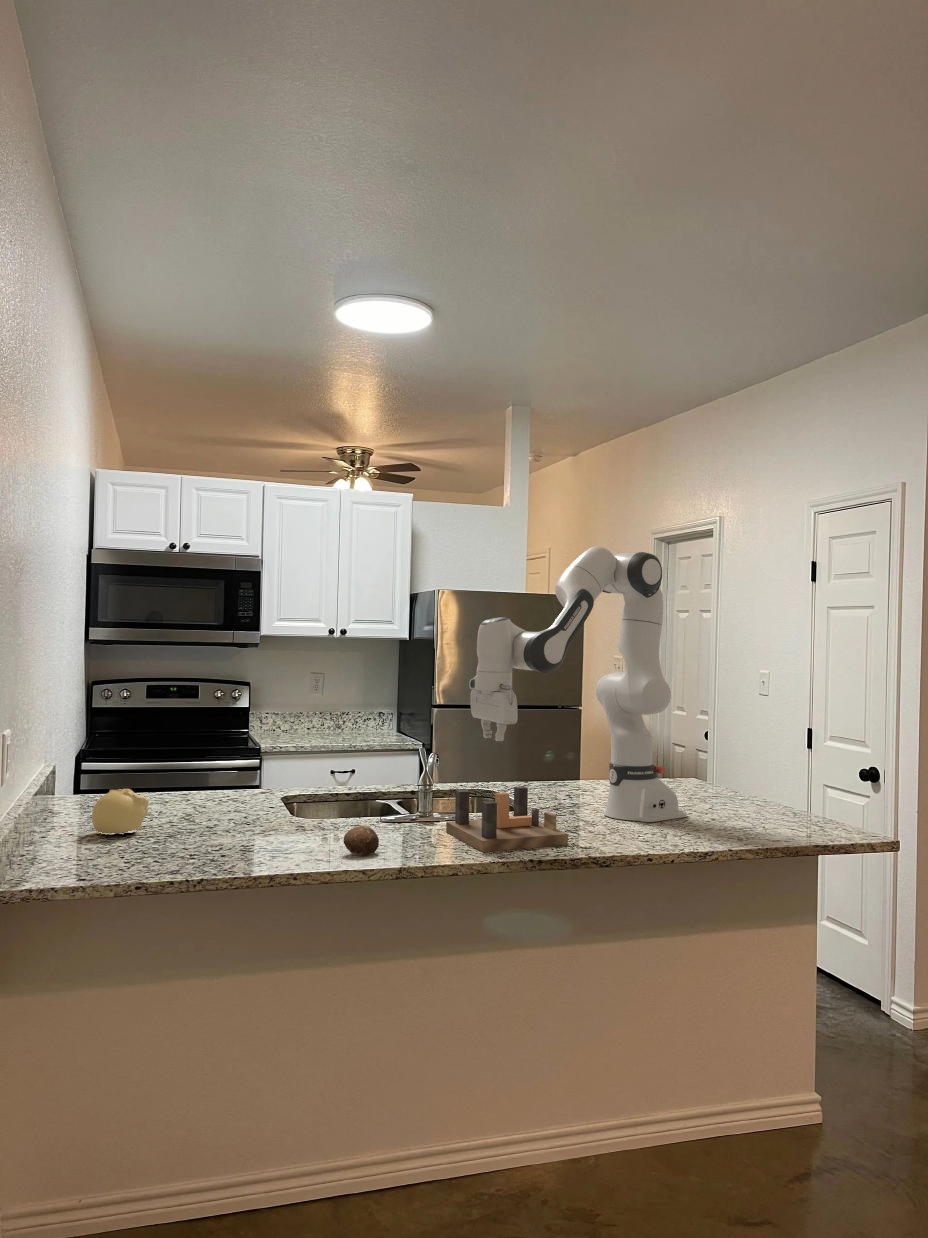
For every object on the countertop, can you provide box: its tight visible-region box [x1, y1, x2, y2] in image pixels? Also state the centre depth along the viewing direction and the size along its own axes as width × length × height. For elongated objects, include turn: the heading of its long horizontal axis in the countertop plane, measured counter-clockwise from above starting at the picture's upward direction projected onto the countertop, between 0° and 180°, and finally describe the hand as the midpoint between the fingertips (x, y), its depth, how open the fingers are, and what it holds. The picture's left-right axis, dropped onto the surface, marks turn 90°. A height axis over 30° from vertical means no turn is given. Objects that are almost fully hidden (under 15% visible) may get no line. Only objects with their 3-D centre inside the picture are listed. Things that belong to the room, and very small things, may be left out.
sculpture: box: [91, 788, 149, 833], centre depth 223 cm, size 11×12×11 cm
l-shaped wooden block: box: [494, 791, 532, 828], centre depth 225 cm, size 9×3×8 cm, turn 113°
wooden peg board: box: [445, 785, 569, 853], centre depth 225 cm, size 22×22×10 cm
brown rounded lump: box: [342, 825, 380, 857], centre depth 208 cm, size 8×8×6 cm
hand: (493, 739), depth 229 cm, fingers open, 5 cm apart
